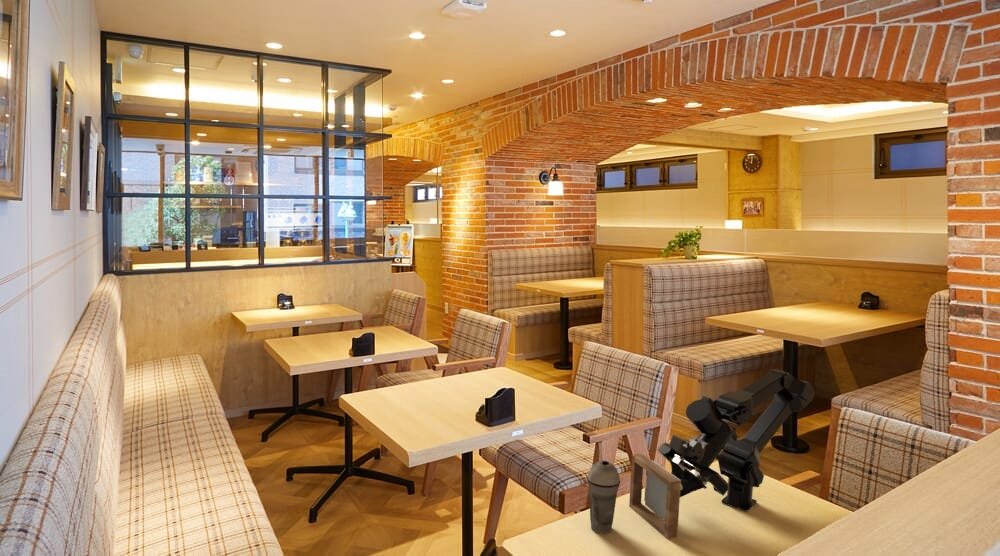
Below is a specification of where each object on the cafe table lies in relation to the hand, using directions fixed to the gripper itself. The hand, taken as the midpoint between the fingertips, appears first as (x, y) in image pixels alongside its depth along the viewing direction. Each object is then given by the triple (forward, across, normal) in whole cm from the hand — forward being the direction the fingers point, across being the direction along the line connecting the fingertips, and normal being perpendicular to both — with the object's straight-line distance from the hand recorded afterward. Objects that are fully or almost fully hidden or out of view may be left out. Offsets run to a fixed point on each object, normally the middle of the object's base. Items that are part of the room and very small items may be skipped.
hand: (669, 497), depth 138 cm
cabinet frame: (+6, -2, +2) cm, 7 cm away
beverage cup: (+16, -3, -7) cm, 17 cm away
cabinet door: (+4, -2, +3) cm, 5 cm away
